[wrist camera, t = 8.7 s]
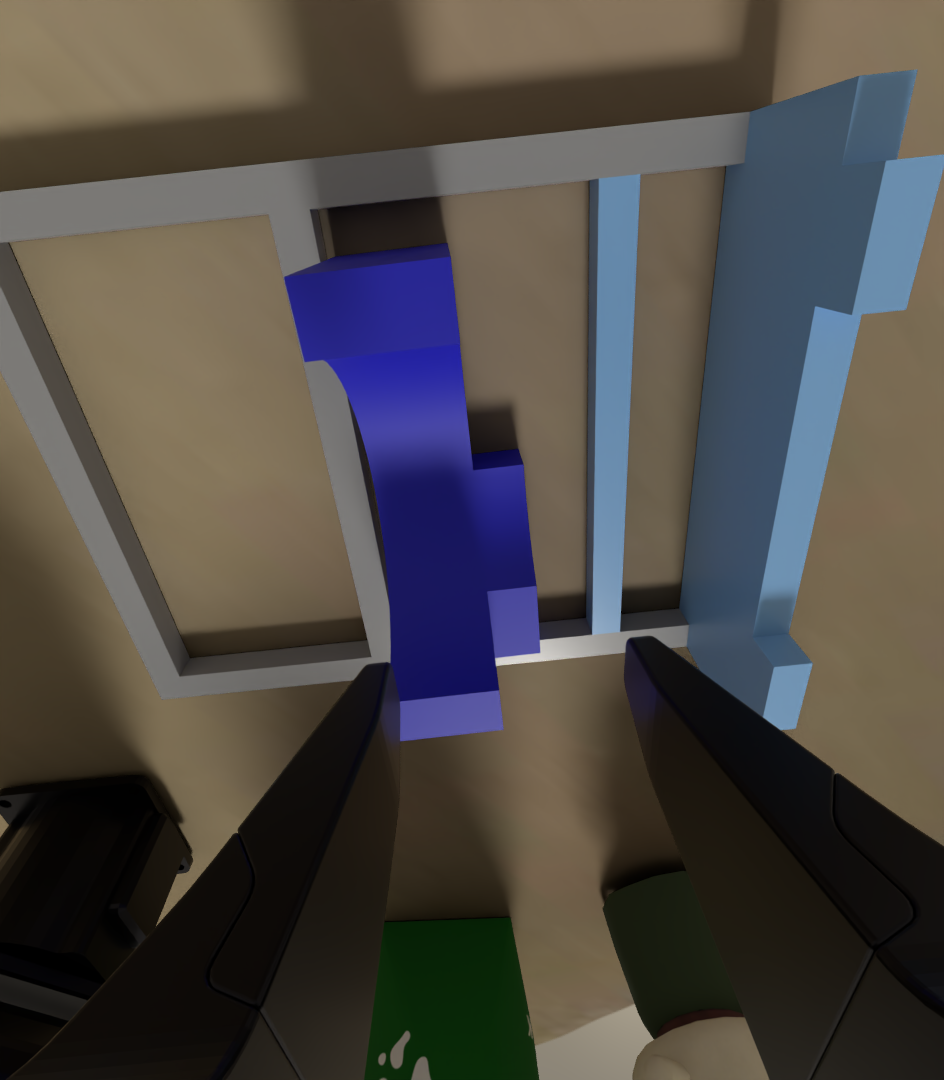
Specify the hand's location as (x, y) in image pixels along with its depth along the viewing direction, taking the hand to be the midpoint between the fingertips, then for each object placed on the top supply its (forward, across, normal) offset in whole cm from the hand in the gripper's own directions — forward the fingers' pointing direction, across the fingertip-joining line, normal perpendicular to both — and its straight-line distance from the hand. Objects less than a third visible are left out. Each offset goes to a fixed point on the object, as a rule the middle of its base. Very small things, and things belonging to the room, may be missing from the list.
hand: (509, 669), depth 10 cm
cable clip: (+10, +1, 0) cm, 10 cm away
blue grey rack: (+10, +2, 0) cm, 10 cm away
